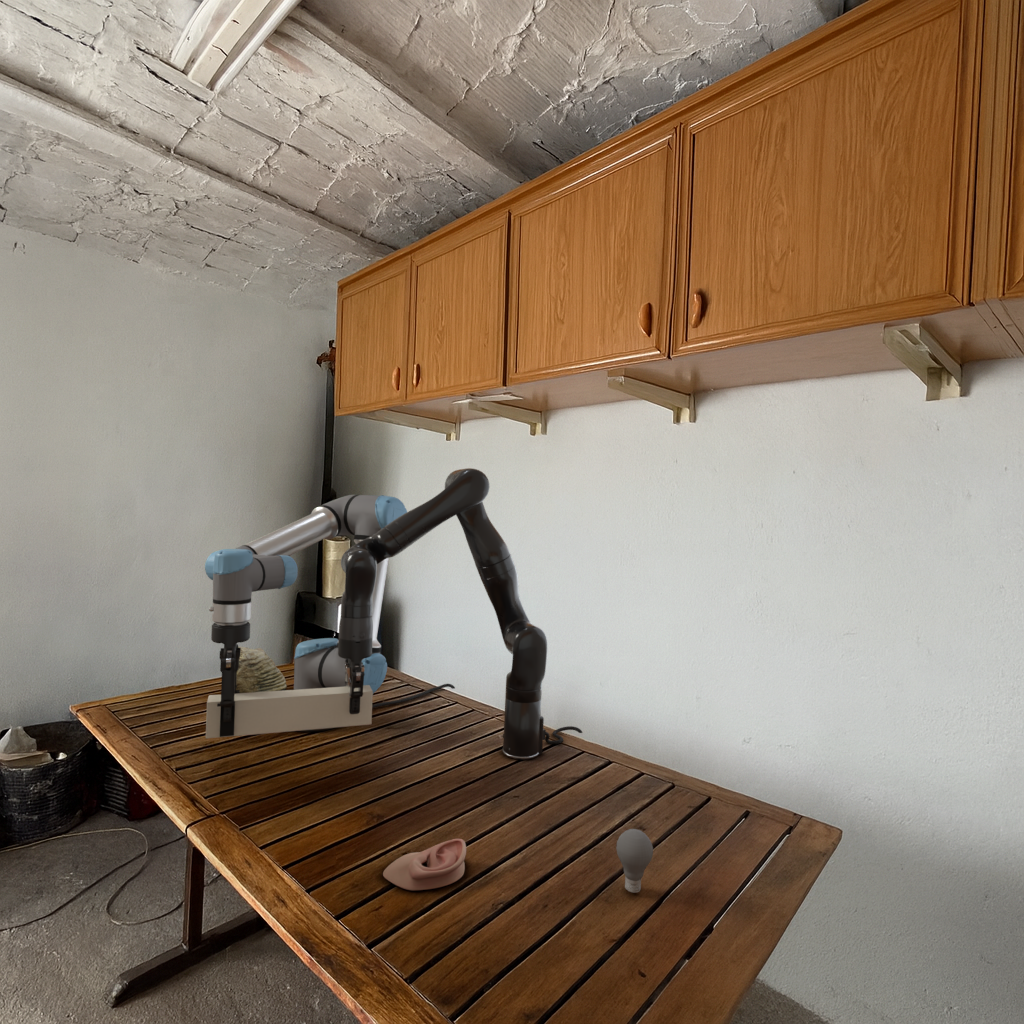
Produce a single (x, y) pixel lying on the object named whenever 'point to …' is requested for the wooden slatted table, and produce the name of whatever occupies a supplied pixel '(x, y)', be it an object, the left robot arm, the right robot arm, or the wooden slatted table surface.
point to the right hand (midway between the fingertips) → (352, 709)
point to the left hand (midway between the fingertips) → (227, 730)
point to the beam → (290, 711)
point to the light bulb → (634, 857)
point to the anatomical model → (429, 867)
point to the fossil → (258, 672)
